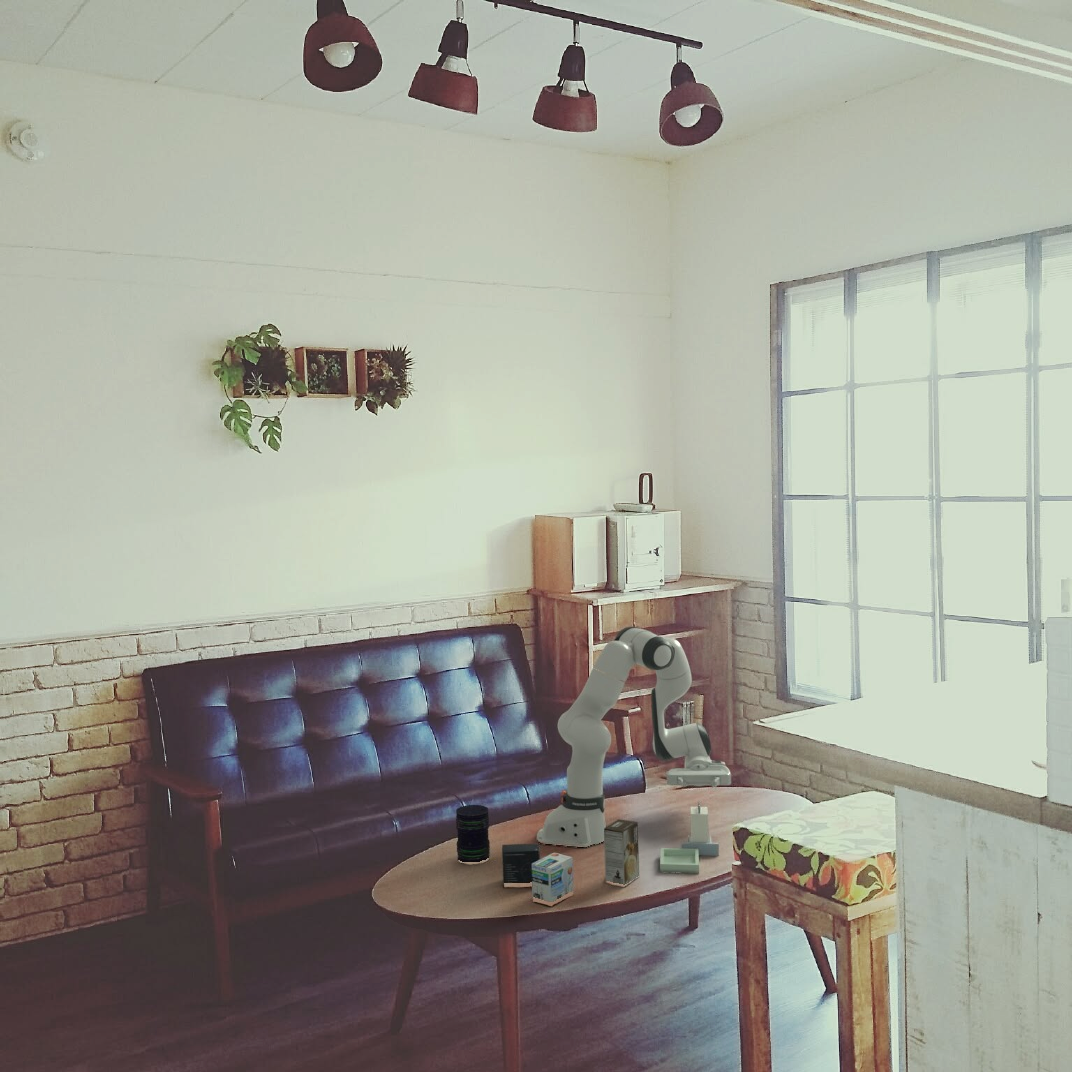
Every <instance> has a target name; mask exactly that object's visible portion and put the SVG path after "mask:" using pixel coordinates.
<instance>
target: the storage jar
mask: <svg viewBox="0 0 1072 1072" xmlns="http://www.w3.org/2000/svg"><path fill="white" fill-rule="evenodd" d="M455 814H456V815H455V823H456V824H455V827H456V830H457V831H456V832H457V841H456V853H457V861H458V860H460V861H462V862H480V861H482V860H486V859H487V858H489V856H490V854H491V853H490V851H491V841H490V839H489V828H490V815H489V808H488V807H487V806H485V805H481V804H469V805H462V806H459V807H457V808H456V810H455Z"/></svg>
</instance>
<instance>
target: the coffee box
mask: <svg viewBox="0 0 1072 1072" xmlns="http://www.w3.org/2000/svg"><path fill="white" fill-rule="evenodd" d="M603 843H604V871H605V873H604V874H605V877H604V879H605V882H606V881H610V882H613V883H619V884H623V885H625V884H627V883H629V882H630V881H632V880H633V879H634V878H636V877H638V876H639V877H640V860H639V859H640V856H639V854H640V853H639V850H640V849H639V848H640V847H639V822H638V821H632V820H628V819H627V820H626V819H621V818H619V819H616V820H615V821H613V822H612V823H610V824H609V825H606V828H604V842H603ZM639 877H638V878H639Z"/></svg>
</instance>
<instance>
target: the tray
mask: <svg viewBox="0 0 1072 1072" xmlns="http://www.w3.org/2000/svg"><path fill="white" fill-rule="evenodd" d="M699 856H700V855H699V853H698V849H683V848H681V847H680V848H679V847H678V848H677V847H676V848H675V847H673V848H671V847H661V848H660V859H659V862H660V863H659V868H660V869H659V871H660V872H669V873H668V874H672V873H671V872H675V873H674V874H677V873H676V872H681V873H680V874H700V860H699V859H700V858H699Z"/></svg>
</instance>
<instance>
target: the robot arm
mask: <svg viewBox="0 0 1072 1072" xmlns="http://www.w3.org/2000/svg"><path fill="white" fill-rule="evenodd" d="M689 663H690V662H689V661H688V658H687V656H686V653H685V650H684V648H683V646H682V644H681V643H680V642H679V641H678V640H677V639H675V638H671V637H666V638H665V637H663V636H659V635H657V634H655V633H653V632H652V631H650V630H647V629H643V628H640V627H637V626H627V627H624V628H622V629H621V630H620V631H619V632H618V633H617V635H615V638H614V640H611V641H609V642H607V644H606V645H605V646H604V647H603V649H602V651H601V652H600V654H599V655H598V657H597V658H596V661H595V662H594V665H593V668H592V669H591V671H590V673H589V676H588V678H587V681H586V682H585V684H584V687H583V689H582V691H581V692H580V694H579V695H578V697H577V698H576V700H575V701H574V702H573V704H572V705H571V706H570V707H569V709H568V710H566V711H565V712H564V713H562V714H561V715H560V717H559V719H558V720H557V721H558V722H557V731H558V733H559V735H560V737H561V739H562V740H563V741H564V742H566V743H567V744H568V745H570V746H571V748H572V753H571V759H570V763H569V765H568V766H567V769H566V781H567V784H566V785H567V786H566V787H567V789H566V790H562V791H561V793H560V803H561V804H560V805H559V806H558V807H556V808H555V809H554V810H552V811H551V812H549V814H548V815H547V816H546V817H545V820H544V823H543V827H542V828H541V829H540V830H538V832H537V834H536V841H537V840H538V841H540V842H542V843H547V844H562V845H571V846H582V847H586V846H589V847H591V846H590V845H591V844H595V845H600V844H602V843H601V842H603V841H604V828H606V827H607V825H606V819H605V808H606V803H605V802H606V801H605V800H606V799H605V798H606V797H605V792H604V791H603V790H604V789H603V788H604V785H603V783H604V781H603V778H604V777H603V771H604V770H603V769H604V761H605V758H606V753H607V752H608V750H609V749H610V747H611V744H612V734H611V732H610V730H609V729H608V727H607V726H606V725H605V724H604V722H603V721H602V719H603V718H604V716H605V715H606V714H607V713H608V711H610V710H611V709H612V708H614V707H615V706H616V704H617V702H618V701H619V700H618V699H619V697H620V695H621V692H622V690H623V689H624V686H625V684H626V681H627V679H628V677H629V674H630V671H631V670H632V668H633V667H634V666H635V665H638V666H639V667H643V668H647V669H648V670H652V671H655V675H656V684H655V686H654V687H653V688H652V689H651V692H650V703H651V705H650V706H651V708H650V709H651V719H652V720H651V721H652V728H653V729H652V730H653V735H652V736H653V737H652V748H653V752H654V754H655V756H656V757H657V758H659V759H660V760H661V761H665V762H668V761H671V760H676V759H677V758H682V757H684V767H683V768H679V767H677V768H676V767H675V768H670V769H669V770H668V771H666V772H665V776H666V784H667V785H668V786H681V788H686V787H687V786H694V787H703V786H711V787H712V788H717V787H718V786H730V785H732V774H731V770H730V769H729V768H728V767H727V765H726V762H725V761H720V760H713V759H711V757H710V755H711V753H712V745H711V740H710V739H711V738H710V736H709V732H708V731H707V729H706V728H705V726H703V725H702V724H701V723H698V722H694V723H689V724H685V725H682V726H677V727H671V728H666V727H665V710H666V708H667V707H668V706H669V705H671V704H672V703H674V702H675V701H677V700H679V699H680V698H681V697H683V696H684V695H685V694H686V693H687V692H688V691H689V690H690V688H691V685H692V683H693V682H692V681H693V680H692V679H693V677H692V672H691V671H692V670H691V667H690V665H689ZM599 843H600V844H599ZM603 843H604V842H603Z"/></svg>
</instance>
